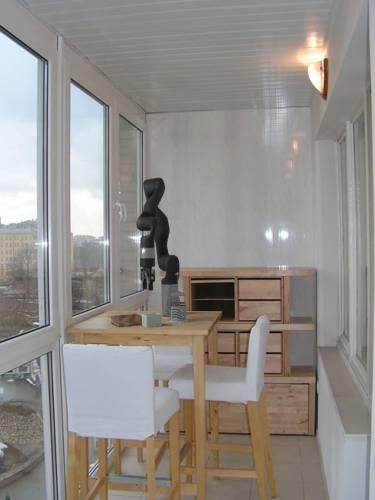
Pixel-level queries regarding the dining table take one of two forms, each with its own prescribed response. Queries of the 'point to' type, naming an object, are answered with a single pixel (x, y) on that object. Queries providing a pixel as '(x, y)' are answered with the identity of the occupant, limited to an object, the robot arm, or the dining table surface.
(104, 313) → the dining table surface
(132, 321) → the brown flat block
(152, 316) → the small crate
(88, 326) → the dining table surface
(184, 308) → the french press
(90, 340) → the dining table surface
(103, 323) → the dining table surface
